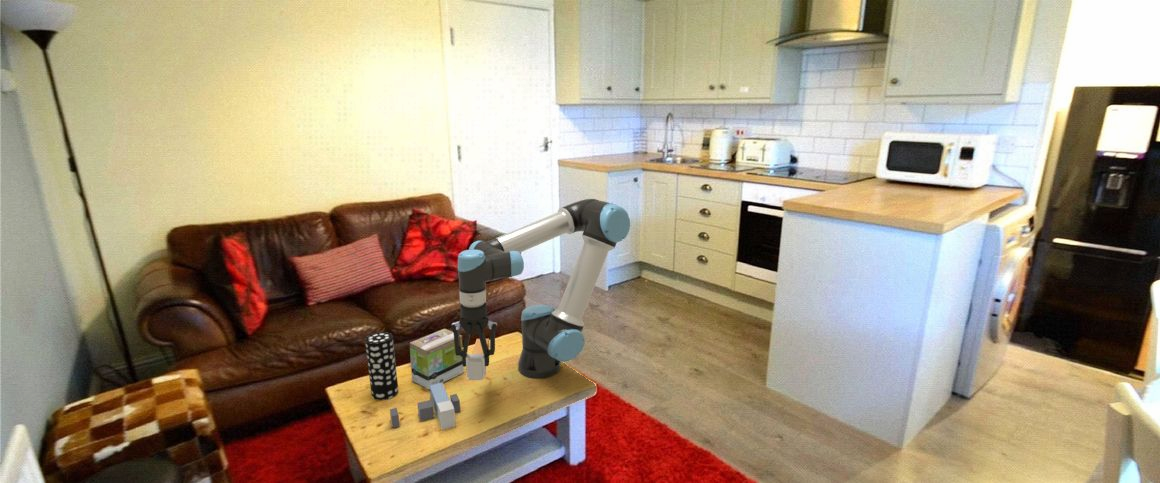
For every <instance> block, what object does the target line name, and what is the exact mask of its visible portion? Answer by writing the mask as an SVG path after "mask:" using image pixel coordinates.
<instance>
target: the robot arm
mask: <svg viewBox="0 0 1160 483" xmlns="http://www.w3.org/2000/svg"><path fill="white" fill-rule="evenodd" d="M630 218H631V217H630V216H629V214H628V212H627V210H626V209H625V208H624V207H622V206H620V205H617V204H615V203H612V202H607V201H603V200H599V199H596V198H586V199H582V200H579V201H578V200H577V201H575V202H573V203H570V204H567V205H565V206H563V207H562V206H561V207H560V208H558V210H557V212H555V213H553V214H551V215H548V216H546V217H544V218H541V219H538V220H536V221H534V222H531V223H529V224H526V225H524V226H522V227H519V228H517V229H514V230H512V231H510V232H509V231H508V232H507V233H505V234H502V235H499V236H498V237H495V238H493V239H490V240H487V241H486V240H476V241H474V242H473V243H471V244H470V246H469V248H468V249H466V250H462V251H461V252H460V253H458V256H457V272H458V274H457V275H458V284H459V286H458V288H459V289H458V290H459V292H458V293H459V294H458V295H459V303H460V305H459V310H460V311H459V312H460V317H459V321H453V322H452V323H451V326H450V329H451V331H452V332H453V333H454V343H455V353H456V355H457V356H461V357H462V363H463V367H464V368H466V378H467V379H469V377H468V360H469V357H470V354H471V353H468V350H469V344H470V339H471V338H470V337H471V335H472V334H476V335H477V336H478V339H480V342H481V346H482V350H483V355H482V373H483V378H486V376H487V367H489V365H490V356H493V355H495V351H496V328H497V326H498V322H497V321H496V320H495V321H491V320H489V318H488V314H487V313H488V311H487V290H486V289H487V288H486V287H487V285H486V284H487V282H493V281H498V280H500V279H507V278H513V277H516V276H519V275H521V274H523V271H524V268H525V262H524V257H523V255H522V254H521V253H522V252H525V251H527V250H530V249H532V248H534V247H536V246H539V245H541V244H543V243H546V242H548V241H550V240H552V239H555V238H558V237H559V236H563V235H565V234H568V235H571V234H575V233H577V232H582V235H581V237H582V239H583V244H582V247H581V249H580V253H579V254H578V258H577V259H576V263H575V264H574V268H573V270H572V272H571V275H570V277H569V280H568V282H567V285H566V288H565V290H564V293H563V295H562V298H561V301H560V303H559V305H558V308H557V309H555V307H554V306H552V305H550V304H549V305H548V304H536V305H531V306H528V307H526V308H524V309H523V310H522V311H521V318H520V321H521V341H522V349H521V352H520V356H519V358H518V362H517V366H518V372H519V373H520V374H521V375H523V376H525V377H528V378H532V379H542V378H544V379H545V378H549V377H552V376H554V375H555V374H557V373H558V372H559V371H560V370H561V362H563V363H564V362H570V361H572V360H573V359H575V358H576V357H578V356H579V355H580V354H581V352H582V351H583V349H584V347H585V343H586V342H585V336H584V334H583V330H584V328H585V323H584V321H583V317H584V314H585V312H586V309H587V307H588V304H589V302H590V300H591V297H592V294H593V292H594V288H595V287H596V284H597V282H598V279H599V277H600V274H601V271H602V269H603V267H604V263H605V261H606V259H607V256H608V254H609V252H610V251H612V250H614V249H615V248H616V245H617V243H619V242H622V241H623V240H625V239H626V238H627V236H628V235H629V234H630V233H629V232H630V229H631V220H630ZM487 326H488V329H489V330H490V331H489V332H490V333H489V349H488V346H487V342H486V339H487V338H486V335H485V329H486V327H487ZM461 328H462V329H463V330H464V331H465V335H464V339H463V340H464V342H463V345H462V346H463V350H461V345H460V335H461V334H460V329H461Z"/></svg>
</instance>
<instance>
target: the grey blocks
mask: <svg viewBox="0 0 1160 483" xmlns="http://www.w3.org/2000/svg"><path fill="white" fill-rule="evenodd" d="M449 397H450V398H449V400H451V402H452V405H453V407H454V412H455V414H456V413H460V412H461V403H460V402H461V401H460V398H459V396H458V393H453V394H450V396H449ZM416 406H417V413H418V418H419V422H424V421H428V420H432V419H434V418H435V415H434V414H435V412H434V406H433V404H432V401H431V399H429V400H423V401H420V402H417V405H416ZM389 415H390V421H391V426H392V427H391V428H392V429H395V428H398V427H399V428H400V427H401V426H400V417H399V412H398V408H397V407H394V408H390V409H389Z"/></svg>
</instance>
